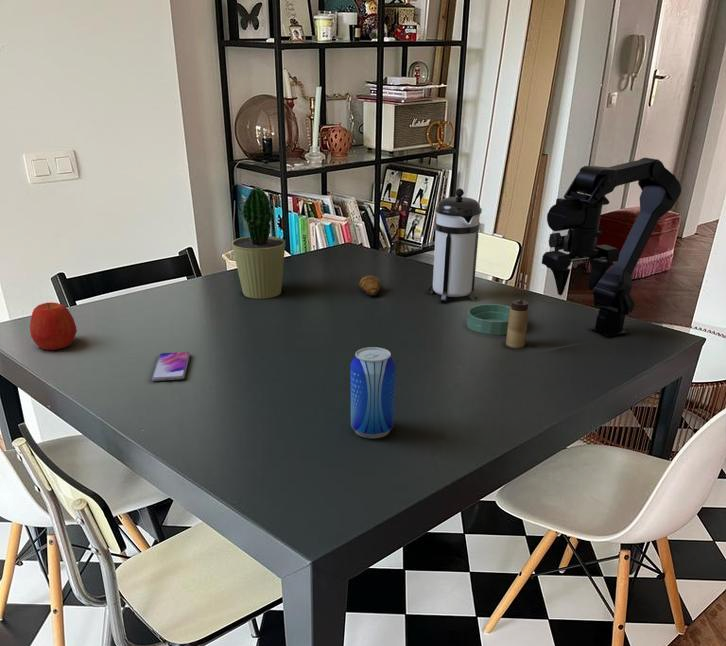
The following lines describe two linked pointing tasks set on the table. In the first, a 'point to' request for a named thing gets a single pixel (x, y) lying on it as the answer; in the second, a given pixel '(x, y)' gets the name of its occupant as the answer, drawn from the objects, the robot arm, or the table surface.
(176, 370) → the smartphone
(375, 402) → the beer can
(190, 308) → the table surface
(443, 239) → the coffee press
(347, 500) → the table surface
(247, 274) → the potted cactus
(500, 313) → the bowl
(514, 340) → the pepper mill
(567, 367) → the table surface
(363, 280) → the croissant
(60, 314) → the apple
